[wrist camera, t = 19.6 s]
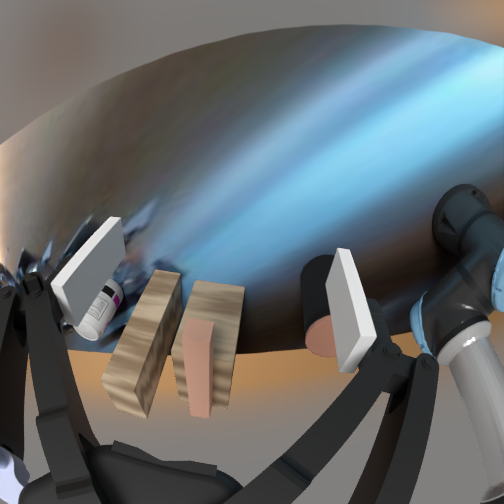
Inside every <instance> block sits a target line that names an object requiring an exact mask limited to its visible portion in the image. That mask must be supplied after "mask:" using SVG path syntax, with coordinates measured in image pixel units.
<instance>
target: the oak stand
mask: <svg viewBox="0 0 504 504" xmlns="http://www.w3.org/2000/svg"><path fill="white" fill-rule="evenodd" d="M244 290H245V287H241V286H234V285H228V284H221V283H214V282H208V281H201V280H195V283H194V286H193V289H192V291H191V294H190V297H189V300H188V303H187V306H186V308H185V311H184V314H183V317H182V320H181V323H180V326H179V329H178V332H177V335H176V338H175V341H174V344H173V347H172V350H171V353H172V360H173V366H174V371H175V377H176V383H177V388H178V393H179V398H180V400H181V401H186V402H189V397H188V390H187V382H186V374H185V366H184V357H183V348H182V335H183V332H184V329H185V326H186V322H187V319H188V318H192V319H198V320H204V321H210V322H214V348H213V390H212V406H214V407H220V408H226V409H228V402H229V396H230V389H231V383H232V376H233V369H234V362H235V356H236V349H237V342H238V335H239V327H240V320H241V312H242V305H243V297H244ZM182 311H183V310H182V294H181V274H179V273H173V272H167V271H161V270H155V271H154V273H153V275H152V277H151V279H150V281H149V282H148V284H147V286H146V288H145V290H144V292H143V294H142V296H141V298H140V299H139V301H138V303H137V305H136V307H135V309H134V311H133V313H132V315H131V317H130V319H129V321H128V323H127V325H126V327H125V329H124V331H123V333H122V335H121V337H120V340H119V342H118V344H117V346H116V348H115V350H114V352H113V354H112V357H111V359H110V361H109V363H108V365H107V367H106V370H105V372H104V374H103V376H102V379H101V382H102V383H103V385H104V387H105V389H106V390H107V392H108V394H109V396H110V397H111V399H112V401H113V402H114V404H115V406H116V407H117V409H118V410H119V411H122V412H124V413H128V414H131V415H134V416H138V417H141V418H145V419H147V418H148V415H149V411H150V408H151V405H152V402H153V398H154V395H155V392H156V389H157V386H158V382H159V379H160V376H161V373H162V370H163V367H164V364H165V361H166V358H167V355H168V352H169V349H170V346H171V343H172V340H173V337H174V334H175V331H176V329H177V326H178V323H179V320H180V317H181V314H182Z"/></svg>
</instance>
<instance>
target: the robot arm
mask: <svg viewBox="0 0 504 504" xmlns="http://www.w3.org/2000/svg"><path fill="white" fill-rule="evenodd" d="M432 226H433V232H434V235H435V237H436V239H437V240H438V242H439V243H440V244H441V245H442V246H443V247H444V248H445V249H446V250H448V251H450V252H452V253H454V254H456V255H458V256H459V257H461V259H460V260H459V261H458V262H457V263H456V264H455V265H454V266H453V267H452V268H451V269H450V270H449V271H448V272H447V273H446V274H445V275H444V276H443V277H442V278H441V279H440V280H439V281H438V282H437V283H436V284H435V285H434V286H433V287H432V288H431V289H430V290H429V291H426V292H425V293H424V294H423V295H422V297H421V298H420V299H419V300H418V301H417V302H416V303H415V304H414V305H413V307H412V309H411V311H410V325H411V329H412V332H413V335H414V338H415V340H416V342H417V344H418V345H420V348H421V351H422V352H423V353H422V354H420V355H419V356H418V357H417V358H413V357H410V356H407V355H404V354H402V351H401V349H400V347H399V346H398V345H396V344H395V343H393V342H392V340H391V337H390V334H389V330H388V327H387V324H386V321H385V318H384V315H383V312H382V309H381V306H380V305H379V304H378V302H377V301H376V300H375V299H368V298H365V295H364V291H363V288H362V285H361V282H360V279H359V276H358V273H357V270H356V267H355V264H354V261H353V258H352V255H351V252H350V250H348V249H341V248H337V251H336V254H335V257H334V260H333V263H332V266H331V269H330V272H329V275H328V278H327V281H326V284H325V285H326V290H327V296H328V302H329V308H330V314H331V320H332V326H333V333H334V339H335V346H336V353H337V360H338V368H339V372H342V373H343V372H344V373H354V371H355V370H356V369H357V367H358V368H359V372H358V373H357V374H356V375H355V377H354V378H353V379H352V380H351V382H350V383H349V384H348V385H347V387H346V388H345V389H344V390H343V391H342V393H341V394H340V395H339V396H338V397H337V398H336V400H335V401H334V402H333V403H332V404H331V405H330V407H329V408H328V409H327V410H326V411H325V412H324V413H323V414H322V416H321V417H320V418H319V419H318V420H317V421H316V422H315V423H314V424H313V425H312V426H311V427H310V428H309V429H308V430H307V431H306V433H304V434H303V435H302V436H301V438H299V439H298V440H297V441H296V442H295V443H294V445H292V446H291V447H290V448H289V449H288V450H287V451H286V452H285V453H284V454H283V455H282V456H281V457H279V458H278V459H277V460H276V461H274V462H273V463H272V464H271V465H270V466H269V467H268V468H266V469H265V470H264V471H263V472H262V473H261V474H260V475H258V476H257V477H256V478H255V479H254V480H252V481H251V482H250V483H249V484H248V485H246V486H245V487H244V488H243V486H241V485H240V483H239V482H238V481H236V480H235V479H234V478H232V477H231V476H229V475H228V474H226V473H224V472H222V471H219V470H217V465H211V464H205V463H199V462H194V461H162V460H159V459H157V458H155V457H153V456H152V455H150V454H148V453H146V452H144V451H143V450H141V449H139V448H137V447H134V446H130V445H127V444H124V443H121V442H118V441H115V440H114V442H113V445H101V446H100V444H99V442H98V441H97V439H96V438H95V436H94V434H93V432H92V430H91V427H90V424H89V422H88V419H87V416H86V413H85V410H84V408H83V405H82V401H81V398H80V395H79V392H78V389H77V386H76V382H75V378H74V375H73V371H72V367H71V364H70V360H69V356H68V351H67V347H66V342H65V338H64V333H63V328H62V324H61V322H60V320H61V319H62V317H63V316H64V318H65V321H66V323H67V324H70V325H73V326H76V327H78V326H79V324H80V323H81V321H82V319H83V318H84V316H85V315H86V313H87V311H88V310H89V308H90V307H91V305H92V304H93V302H94V300H95V299H96V297H97V296H98V294H99V293H100V291H101V290H102V288H103V287H104V285H105V284H106V282H107V281H108V279H109V278H110V276H111V275H112V273H113V272H114V271H115V269H116V268H117V266H118V265H119V263H120V262H121V261H122V259H123V258H124V256H125V255H126V254H125V247H124V240H123V232H122V224H121V218H117V217H110V218H109V219H108V220H107V221H106V222H105V223H104V224H103V225H102V226H101V227H100V228H99V229H98V230H97V231H96V232H95V233H94V234H93V235H92V236H91V237H90V239H89V240H88V241H87V242H86V243H85V244H84V245H83V246H82V247H81V248H80V249H79V251H78V252H77V253H76V254H75V255H73V254H71V255H70V256H68V257H66V258H65V259H64V260H63V261H62V262H61V263H60V264H59V266H58V267H57V268H56V269H55V270H54V271H53V272H52V274H51V275H50V276H49V277H48V278H47V280H46V281H45V282H44V281H43V278H42V275H41V274H40V273H39V272H31V273H28V274H26V275H25V276H24V277H23V278H22V279H21V282H20V285H21V287H22V289H23V292H24V293H17V291H16V289H15V287H13V286H6V287H4V288H2V289H1V290H0V498H1V499H3V500H4V501H6V502H7V503H9V504H291V503H292V502H293V501H294V500H295V499H296V498H297V497H298V496H299V495H300V494H301V493H302V492H303V491H304V490H305V489H306V488H307V487H308V486H309V485H310V483H311V481H312V480H313V478H314V477H315V476H316V475H317V474H318V473H319V472H320V471H321V470H322V469H323V467H325V465H326V464H327V463H328V462H329V461H330V460H331V458H332V457H333V456H334V455H335V454H336V453H337V451H338V450H339V449H340V448H341V447H342V445H343V444H344V443H345V442H346V440H347V439H348V438H349V437H350V435H351V434H352V433H353V432H354V430H355V429H356V428H357V426H358V425H359V424H360V422H361V421H362V419H363V418H364V417H365V415H366V414H367V413H368V411H369V410H370V408H371V407H372V406H373V404H374V403H375V401H376V399H377V398H378V397H379V395H380V394H381V392H382V391H383V392H387V393H390V397H389V400H388V404H387V407H386V410H385V414H384V416H383V420H382V423H381V426H380V429H379V432H378V434H377V437H376V440H375V443H374V445H373V448H372V450H371V453H370V456H369V458H368V461H367V463H366V466H365V468H364V470H363V473H362V475H361V477H360V479H359V482H358V484H357V486H356V488H355V490H354V493H353V495H352V497H351V499H350V501H349V503H348V504H409V502H410V499H411V497H412V494H413V491H414V488H415V485H416V482H417V479H418V475H419V472H420V468H421V465H422V461H423V457H424V453H425V449H426V445H427V441H428V436H429V432H430V426H431V422H432V416H433V411H434V404H435V398H436V390H437V382H438V374H439V364H441V365H445V366H448V367H449V368H450V370H451V373H452V375H453V378H454V380H455V382H456V385H457V388H458V390H459V393H460V396H461V398H462V401H463V404H464V406H465V409H466V412H467V415H468V418H469V421H470V424H471V427H472V430H473V434H474V437H475V440H476V444H477V447H478V451H479V454H480V458H481V462H482V466H483V470H484V474H485V479H486V484H487V488H486V491H485V492H484V494H483V495H482V497H481V499H480V504H504V367H503V365H502V363H501V361H500V359H499V357H498V355H497V353H496V351H495V349H494V347H493V345H492V343H491V341H490V339H489V336H490V332H491V327H492V326H491V323H490V321H489V320H488V318H487V317H488V316H489V315H490V314H491V313H492V312H493V311H494V310H495V309H496V310H498V311H499V312H504V221H503V220H502V219H501V218H500V217H499V216H498V215H496V214H495V212H494V210H493V208H492V206H491V205H490V203H489V201H488V199H487V197H486V196H485V194H484V193H483V192H482V191H480V190H479V189H478V188H476V187H475V186H473V185H470V184H461V185H458V186H455V187H453V188H452V189H450V190H449V191H448V192H447V193H446V194H445V195H444V196H443V197H442V198H441V200H440V201H439V203H438V204H437V207H436V209H435V212H434V215H433V222H432ZM28 353H29V359H30V366H31V373H32V380H33V385H34V391H35V396H36V401H37V406H38V410H39V416H37V417H36V425H37V429H38V433H39V436H40V440H41V444H42V447H43V451H44V454H45V457H46V460H47V463H48V466H49V469H50V472H49V473H47V474H45V475H44V476H42V477H40V478H38V479H36V480H34V481H32V482H31V483H28V480H29V478H30V474H29V472H28V471H27V470H26V466H25V464H24V463H23V458H24V396H25V380H26V370H27V361H28ZM436 359H437V360H436ZM438 363H439V364H438Z"/></svg>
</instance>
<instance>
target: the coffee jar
mask: <svg viewBox="0 0 504 504" xmlns="http://www.w3.org/2000/svg"><path fill="white" fill-rule="evenodd" d="M334 257H335V256H333V255H321V256H318V257H316V258H314V259H312V260H311V261H309V262H308V263H307V264H306V266H305V267H304V268H303V271H302V273H301V289H302V302H303V316H304V331H305V334H306V338H305V343H306V345H307V348H308V349H309V350H310V351H311V352H312V353H314V354H316V355H319V356H323V357H337V353H336V346H335V339H334V333H333V326H332V320H331V314H330V308H329V302H328V296H327V290H326V285H325V284H326V281H327V278H328V275H329V272H330V269H331V266H332V263H333V260H334Z"/></svg>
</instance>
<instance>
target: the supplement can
mask: <svg viewBox="0 0 504 504" xmlns="http://www.w3.org/2000/svg"><path fill="white" fill-rule="evenodd" d="M122 299H123V291H122V289H121V287H120V285H119V284H118V283H117V282H115V281H114V280H112V279H110V278H109V279H108V281H107V282H106V284H105V285H104V287H103V288H102V290H101V291H100V293H99V294H98V296H97V297H96V299H95V300H94V302H93V304H92V305H91V307H90V308H89V310H88V311H87V313H86V315H85V316H84V318H83V319H82V321H81V323H80V324H79V326H78V327H76V326H74V329H75V330H76V331H77V332H78V333H79V334H80V335H81V336H83V337H84V338H86V339H88V340H92V341H94V340H97V339H98V338H100V337H101V336H102V335H103V334H104V332H105V330H106V328H107V326H108V324H109V323H110V321H111V319H112V317H113V315H114V313H115V312H116V310H117V308H118V306H119V305H120V303H121V301H122Z"/></svg>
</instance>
